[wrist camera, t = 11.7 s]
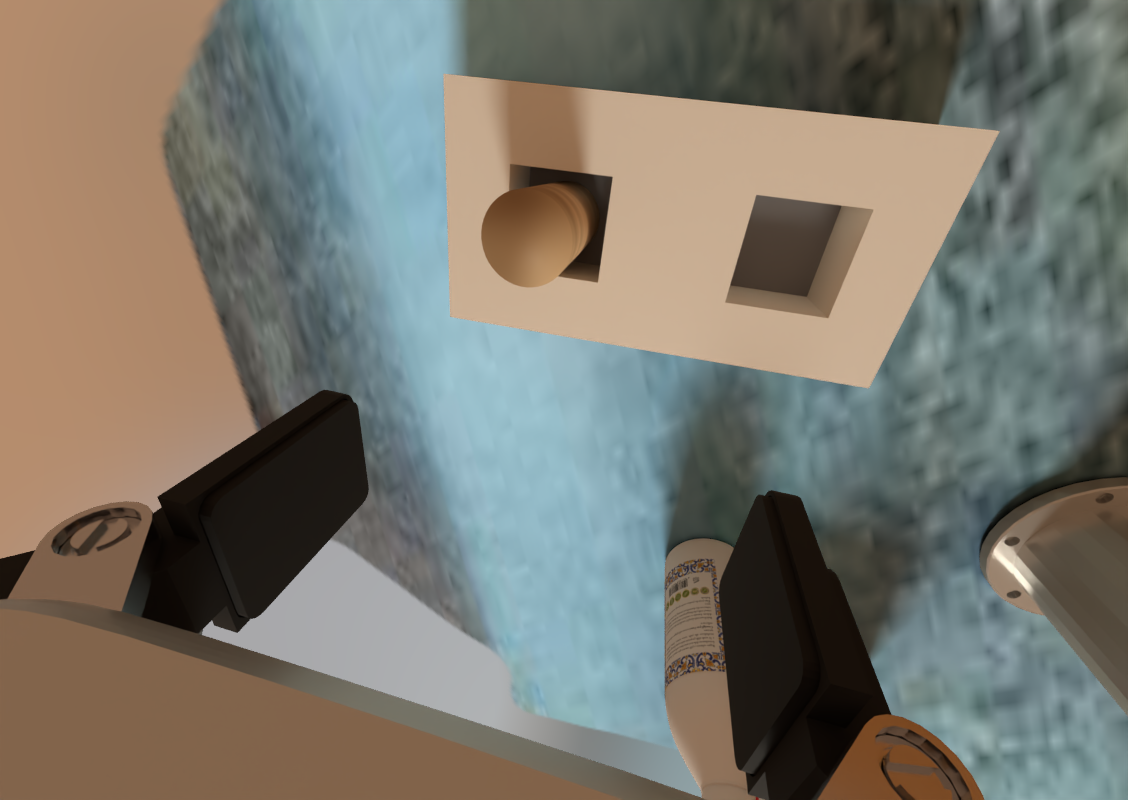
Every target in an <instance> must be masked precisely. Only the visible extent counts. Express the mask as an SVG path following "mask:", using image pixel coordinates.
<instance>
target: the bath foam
mask: <svg viewBox="0 0 1128 800" xmlns="http://www.w3.org/2000/svg"><path fill="white" fill-rule="evenodd" d="M733 549H734V547H732V546H730V545H729V544H726V543H724V542H721V541H718V540H714V539H705V538H701V539H692V540H688V541H685V542H683V543H681V544H679V545H677V546H676V547H675V548H673V549H672V550H671V552H670V553H669V554H668V556H667V558H666V562H665V702H666V710H667V716H668V721H669V725H670V729H671V732H672V735H673V738H674V740H675V743H676V745H677V747H678V749H679V751H680V753H681V755H682V757H683V759H684V761H685V763H686V765H687V766H688V768H689V770H690V772H691V774H692V775H693V777H694V779H695V781H696V782H697V784H698V786H699V787H700V789H701V793H702V798H704V799H706V800H756V797H755V796H751V795H748V791H747V782H746V773H745V772H744V771H740V770H738V768H737V766H736V763H735V756H734V746H733V736H732V726H731V715H730V705H729V695H728V685H727V674H726V664H725V654H724V644H723V633H722V623H721V613H720V603H719V584H720V580H721V577H722V575H723V572H724V570H725V568H726V565H727V563H728V561H729V559H730V556H731V554H732V552H733Z"/></svg>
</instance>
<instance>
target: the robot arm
mask: <svg viewBox="0 0 1128 800" xmlns="http://www.w3.org/2000/svg"><path fill="white" fill-rule="evenodd" d="M368 490H369V489H368V480H367V472H366V464H365V457H364V449H363V442H362V434H361V427H360V419H359V412H358V406H357V404H356V403H354V402H353V400H352V398H351V397H350V396H349V395H347V394H343V393H338V392H334V391H329V390H323V391H320V392H319V393H317V394H315V395H314V396H312V397H311V398H309V399H308V400H306V401H305V402H303V403H302V404H300V405H299V406H297V407H295V408H294V409H292V410H291V411H289V412H288V413H286V414H285V415H283V416H282V417H280V418H278V419H277V420H275V421H274V422H272V423H271V424H269V425H268V426H266V427H265V428H263V429H261V430H260V431H258V432H257V433H255V434H254V435H252V436H251V437H249V438H248V439H246V440H245V441H243V442H241V443H240V444H238V445H237V446H235V447H234V448H232V449H231V450H229V451H228V452H226V453H225V454H223V455H221V456H220V457H219V458H217V459H215V460H214V461H213V462H211V463H209V464H208V465H206V466H204V467H203V468H201V469H200V470H198V471H197V472H195V473H194V474H192V475H191V476H189V477H188V478H186V479H184V480H183V481H181V482H180V483H178V484H177V485H175V486H174V487H172V488H170V489H169V490H168V491H166V492H164V493H163V494H161V495H160V496H158V499H159V502H160V504H161V506H162V508H160V509H159V510H157V511H156V512H154V513H153V512H152V511H151V510H150V508H149V507H148V506H147V505H144V504H141V503H139V502H117V503H110V504H106V505H102V506H97V507H94V508H91V509H88V510H86V511H83V512H81V513H78V514H76V515H74V516H72V517H70V518H69V519H67V520H65V521H63V522H61V523H60V524H58V525H57V526H56V527H54V528H53V529H52V530H50V531H49V532H48V533H47V534H46V536H45V537H44V538H43V539H42V540H41V541H40V543H39V545H38V546H37V548H36V550H34V551H30V552H26V553H22V554H18V555H15V556H10V557H6V558H2V559H0V800H706V799H704V798H701V797H698V796H695V795H692V794H689V793H686V792H683V791H680V790H677V789H675V788H671V787H669V786H666V785H663V784H660V783H658V782H655V781H652V780H649V779H646V778H643V777H640V776H637V775H634V774H631V773H629V772H626V771H623V770H620V769H617V768H614V767H611V766H607V765H605V764H602V763H598V762H596V761H592V760H589V759H586V758H583V757H580V756H577V755H574V754H571V753H568V752H565V751H562V750H559V749H556V748H553V747H550V746H546V745H543V744H541V743H537V742H534V741H531V740H528V739H525V738H522V737H519V736H516V735H513V734H510V733H507V732H504V731H501V730H498V729H494V728H492V727H489V726H486V725H482V724H479V723H476V722H473V721H470V720H467V719H464V718H461V717H458V716H455V715H451V714H448V713H445V712H442V711H439V710H436V709H433V708H430V707H427V706H424V705H420V704H417V703H414V702H411V701H408V700H405V699H402V698H399V697H395V696H392V695H389V694H386V693H383V692H380V691H376V690H374V689H371V688H367V687H364V686H361V685H358V684H355V683H351V682H349V681H346V680H342V679H339V678H336V677H333V676H330V675H327V674H324V673H321V672H317V671H314V670H311V669H308V668H305V667H302V666H298V665H295V664H292V663H289V662H286V661H283V660H279V659H276V658H273V657H270V656H266V655H263V654H260V653H257V652H254V651H250V650H247V649H244V648H241V647H238V646H235V645H232V644H229V643H225V642H222V641H219V640H216V639H213V638H209V637H206V636H203V635H202V631H203V628H204V627H205V626H206V625H207V624H208V623H209V622H210V621H211V620H212V621H213V623H214V625H215V626H218V627H221V628H224V629H227V630H231V631H233V632H237V633H238V632H239V631H240V630H241V629H242V627H243V626H244V625H245V624H246V623H247V622H248V621H249V620H250V619H253V618H256V617H258V616H259V615H261V614H262V613H263V612H264V611H265V610H266V609H267V607H268V606H269V605H270V604H271V603H272V602H273V601H274V600H275V599H276V598H277V597H278V595H279V594H280V593H281V592H282V591H283V590H284V589H285V588H286V587H287V586H288V585H289V583H290V582H291V581H292V580H293V579H294V578H295V577H296V576H297V575H298V574H299V572H300V571H301V570H302V569H303V568H304V567H305V566H306V565H307V564H308V563H309V562H310V560H311V559H312V558H313V557H314V556H315V555H316V554H317V553H318V552H319V551H320V550H321V548H322V547H323V546H324V545H325V544H326V543H327V542H328V541H329V540H330V539H331V538H332V536H333V535H334V534H335V533H336V532H337V531H338V530H339V529H340V528H341V527H342V526H343V524H344V523H345V522H346V521H347V520H348V519H349V518H350V517H351V516H352V515H353V513H354V512H355V511H356V510H357V509H358V508H359V507H360V506H361V505H362V504H363V502H364V501H365V499H366V497H367V495H368ZM979 557H980V568H981V570H982V573H983V575H984V577H985V579H986V580H987V581H988V583H989V584H990V585H991V587H992V588H993V590H994V591H995V592H996V593H997V594H998V595H999V596H1000V597H1001V598H1002V599H1004V600H1005V601H1007V602H1009V603H1010V604H1012V605H1014V606H1016V607H1018V608H1020V609H1023V610H1026V611H1029V612H1031V613H1035V614H1040V615H1045V616H1046V617H1047V619H1048V620H1049V621H1050V622H1051V623H1052V625H1053V626H1054V627H1055V628H1056V630H1057V631H1058V632H1059V633H1060V634H1061V636H1062V637H1063V638H1064V639H1065V641H1066V642H1067V643H1068V644H1069V645H1070V647H1071V648H1072V649H1073V650H1074V651H1075V653H1076V654H1077V655H1078V656H1079V658H1080V659H1081V660H1082V661H1083V662H1084V664H1085V665H1086V666H1087V667H1088V668H1089V670H1090V671H1091V672H1092V673H1093V675H1094V676H1095V677H1096V678H1097V679H1098V681H1099V682H1100V683H1101V684H1102V685H1103V687H1104V688H1105V689H1106V690H1107V692H1108V693H1109V694H1110V695H1111V696H1112V698H1113V699H1114V700H1115V701H1116V702H1117V704H1118V705H1119V706H1120V707H1121V709H1122V710H1123V711H1124V712H1125V713H1126V715H1127V716H1128V477H1120V478H1106V479H1097V480H1091V481H1086V482H1081V483H1075V484H1072V485H1068V486H1065V487H1062V488H1058V489H1055V490H1052V491H1049V492H1047V493H1045V494H1042V495H1040V496H1038V497H1035V498H1033V499H1031V500H1029V501H1027V502H1026V503H1024V504H1022V505H1021V506H1019V507H1017V508H1015V509H1014V510H1013V511H1011V512H1010V513H1009V514H1008V515H1006V516H1005V517H1004V518H1002V519H1001V520H1000V521H999V522H998V523H997V524H996V526H995V527H994V528H993V529H992V530H991V531H990V532H989V534H988V536H987V537H986V539H985V541H984V543H983V544H982V548H981V552H980V556H979ZM719 603H720V613H721V623H722V633H723V644H724V654H725V664H726V674H727V685H728V695H729V705H730V715H731V726H732V736H733V746H734V756H735V763H736V766H737V768H738V770H740V771H744V772H745V773H746V782H747V791H748V795H751V796H755V797H758V798H761V799H764V800H984V797H983V795H982V793H981V791H980V789H979V787H978V786H977V784H976V782H975V780H974V778H973V776H972V775H971V774H970V772H969V771H968V770H967V768H966V767H965V766H964V765H963V763H962V762H961V761H960V759H959V758H958V757H957V756H956V755H955V754H954V753H953V752H952V751H951V750H950V749H949V748H948V747H947V746H946V745H945V744H944V743H943V742H942V741H941V740H940V739H939V738H937V737H936V736H934V735H933V734H932V733H930V732H929V731H927V730H926V729H925V728H923V727H922V726H920V725H918V724H916V723H914V722H912V721H910V720H907V719H905V718H903V717H899V716H894V715H891V712H890V710H889V707H888V705H887V702H886V699H885V697H884V694H883V692H882V689H881V687H880V684H879V681H878V679H877V676H876V674H875V671H874V669H873V666H872V663H871V661H870V658H869V656H868V653H867V651H866V648H865V645H864V643H863V640H862V638H861V635H860V632H859V630H858V627H857V625H856V622H855V620H854V617H853V614H852V612H851V609H850V607H849V604H848V602H847V599H846V596H845V594H844V591H843V589H842V586H841V583H840V581H839V579H838V577H837V575H836V574H835V573H834V572H833V571H832V570H831V569H827V568H826V565H825V562H824V559H823V557H822V554H821V551H820V549H819V546H818V543H817V540H816V538H815V535H814V532H813V530H812V527H811V524H810V521H809V519H808V516H807V513H806V511H805V508H804V505H803V502H802V500H801V498H800V497H798V496H795V495H790V494H786V493H781V492H777V491H773V490H770V491H768V492H767V494H766V495H765V496H764V495H758V496H757V497H756V499H755V501H754V503H753V506H752V508H751V510H750V512H749V515H748V517H747V519H746V522H745V524H744V526H743V529H742V531H741V533H740V536H739V538H738V540H737V542H736V545H735V547H734V549H733V552H732V554H731V556H730V559H729V561H728V563H727V565H726V568H725V570H724V572H723V575H722V577H721V580H720V584H719Z"/></svg>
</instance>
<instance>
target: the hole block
mask: <svg viewBox="0 0 1128 800" xmlns="http://www.w3.org/2000/svg"><path fill="white" fill-rule="evenodd" d="M444 107H445V143H446V180H447V216H448V253H449V289H450V317H455V318H460V319H466V320H472V321H478V322H484V323H490V324H496V325H501V326H507V327H513V328H519V329H525V330H531V331H537V332H542V333H548V334H554V335H560V336H566V337H572V338H577V339H583V340H589V341H595V342H601V343H607V344H613V345H618V346H624V347H630V348H636V349H642V350H648V351H654V352H659V353H665V354H671V355H677V356H683V357H689V358H695V359H700V360H706V361H712V362H718V363H724V364H730V365H736V366H741V367H747V368H753V369H759V370H765V371H771V372H777V373H782V374H788V375H794V376H800V377H806V378H812V379H817V380H823V381H829V382H835V383H841V384H847V385H853V386H858V387H864V388H869V387H870V385H871V383H872V381H873V379H874V377H875V375H876V373H877V371H878V369H879V367H880V365H881V363H882V362H883V360H884V358H885V356H886V354H887V352H888V350H889V348H890V346H891V344H892V342H893V340H894V338H895V336H896V334H897V332H898V330H899V328H900V326H901V324H902V322H903V320H904V318H905V316H906V314H907V312H908V310H909V308H910V306H911V304H912V302H913V301H914V299H915V297H916V295H917V293H918V291H919V289H920V287H921V285H922V283H923V281H924V279H925V277H926V275H927V273H928V271H929V269H930V267H931V265H932V263H933V261H934V259H935V257H936V255H937V253H938V251H939V249H940V247H941V245H942V243H943V241H944V239H945V238H946V236H947V234H948V232H949V230H950V228H951V226H952V224H953V222H954V220H955V218H956V216H957V214H958V212H959V210H960V208H961V206H962V204H963V202H964V200H965V198H966V196H967V194H968V192H969V190H970V188H971V186H972V184H973V182H974V180H975V178H976V176H977V175H978V173H979V171H980V169H981V167H982V165H983V163H984V161H985V159H986V157H987V155H988V153H989V151H990V149H991V147H992V145H993V143H994V141H995V139H996V137H997V135H998V133H999V131H993V130H984V129H974V128H964V127H955V126H945V125H935V124H925V123H916V122H906V121H896V120H887V119H877V118H867V117H858V116H848V115H838V114H828V113H819V112H809V111H799V110H790V109H780V108H770V107H761V106H751V105H741V104H731V103H722V102H712V101H702V100H693V99H683V98H673V97H664V96H654V95H644V94H634V93H625V92H615V91H605V90H596V89H586V88H576V87H567V86H557V85H547V84H537V83H528V82H518V81H508V80H499V79H489V78H479V77H470V76H460V75H450V74H444ZM561 181H572V182H576V183H578V184H580V185H582V186H584V187H585V188H586V189H588V190H589V192H590V193H591V194H592V195H593V197H594V198H595V200H596V202H597V205H598V209H599V226H598V230H597V232H596V234H595V236H594V238H593V239H592V241H591V242H590V243H589V244H588V245H587V246H586V247H585V248H584V249H583V250H582V251H581V252H580V254H579V255H578V256H577V257H576V258H575V259H574V260H573V261H572V262H571V263H570V264H569V265H568V266H567V267H566V268H565V269H564V270H563V271H562V272H561V274H560V275H559V276H558V277H556V278H555V279H554V280H553V281H551V282H549V283H547V284H545V285H543V286H539V287H520V286H517V285H514V284H512V283H510V282H508V281H506V280H505V279H503V278H502V277H501V276H499V275H498V274H497V273H496V272H495V270H494V269H493V268H492V267H491V265H490V264H489V262H488V260H487V258H486V256H485V253H484V250H483V246H482V240H481V229H482V223H483V219H484V217H485V214H486V212H487V210H488V208H489V207H490V205H491V204H492V203H493V202H494V201H495V200H496V199H497V198H498V197H499V196H501V195H502V194H504V193H506V192H508V191H511V190H515V189H520V188H526V187H532V186H538V185H544V184H549V183H555V182H561Z"/></svg>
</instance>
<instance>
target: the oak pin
mask: <svg viewBox="0 0 1128 800" xmlns="http://www.w3.org/2000/svg"><path fill="white" fill-rule="evenodd" d="M598 226H599V209H598V205H597V202H596V200H595V198H594V197H593V195H592V194H591V193H590V192H589V190H588V189H586V188H585V187H584V186H582V185H580V184H578V183H576V182H572V181H561V182H555V183H549V184H544V185H538V186H532V187H526V188H520V189H515V190H511V191H508V192H506V193H504V194H502V195H501V196H499V197H498V198H497V199H496V200H495V201H494V202H493V203H492V204H491V205H490V207H489V208H488V210H487V212H486V214H485V217H484V219H483V223H482V229H481V240H482V246H483V250H484V253H485V256H486V258H487V260H488V262H489V264H490V265H491V267H492V268H493V269H494V270H495V272H496V273H497V274H498V275H499V276H501V277H502V278H503V279H505V280H506V281H508V282H510V283H512V284H514V285H517V286H520V287H539V286H543V285H545V284H547V283H549V282H551V281H553V280H554V279H555V278H556V277H558V276H559V275H560V274H561V272H562V271H563V270H564V269H565V268H566V267H567V266H568V265H569V264H570V263H571V262H572V261H573V260H574V259H575V258H576V257H577V256H578V255H579V254H580V252H581V251H582V250H583V249H584V248H585V247H586V246H587V245H588V244H589V243H590V242H591V241H592V239H593V238H594V236H595V234H596V232H597V230H598Z"/></svg>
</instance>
